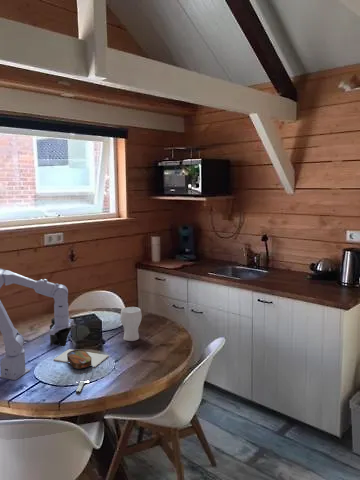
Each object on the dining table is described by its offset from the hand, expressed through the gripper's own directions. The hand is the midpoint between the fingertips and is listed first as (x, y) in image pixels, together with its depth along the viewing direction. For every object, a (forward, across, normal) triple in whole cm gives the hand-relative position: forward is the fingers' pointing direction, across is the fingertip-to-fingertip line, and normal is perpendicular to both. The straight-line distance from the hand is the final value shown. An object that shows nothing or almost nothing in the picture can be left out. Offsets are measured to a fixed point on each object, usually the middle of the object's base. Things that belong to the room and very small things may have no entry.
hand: (62, 345), depth 177 cm
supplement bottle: (+11, +24, +20) cm, 33 cm away
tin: (+9, +4, 0) cm, 10 cm away
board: (+10, +12, -2) cm, 16 cm away
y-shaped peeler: (+10, -7, -14) cm, 19 cm away
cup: (+11, +41, -12) cm, 44 cm away
